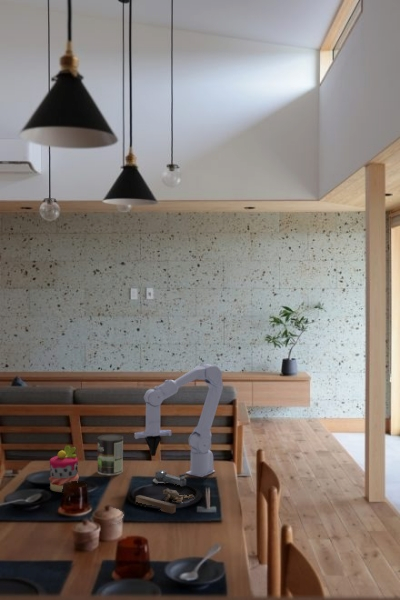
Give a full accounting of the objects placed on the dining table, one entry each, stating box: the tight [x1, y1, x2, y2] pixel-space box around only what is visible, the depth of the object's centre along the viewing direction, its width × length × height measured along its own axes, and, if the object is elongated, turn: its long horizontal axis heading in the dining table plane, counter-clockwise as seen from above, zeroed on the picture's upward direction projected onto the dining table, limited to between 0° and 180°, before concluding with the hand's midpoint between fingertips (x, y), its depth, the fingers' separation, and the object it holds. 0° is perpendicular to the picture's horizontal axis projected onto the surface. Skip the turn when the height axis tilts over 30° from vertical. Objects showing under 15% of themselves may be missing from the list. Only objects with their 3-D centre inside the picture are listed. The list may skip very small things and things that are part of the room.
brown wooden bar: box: [135, 494, 177, 515], centre depth 226 cm, size 2×16×2 cm, turn 54°
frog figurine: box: [162, 487, 195, 503], centre depth 234 cm, size 12×12×4 cm
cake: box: [48, 445, 80, 493], centre depth 246 cm, size 10×10×15 cm
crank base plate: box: [152, 478, 169, 484], centre depth 255 cm, size 6×6×1 cm
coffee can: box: [97, 433, 124, 477], centre depth 266 cm, size 10×10×14 cm
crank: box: [154, 469, 187, 487], centre depth 252 cm, size 14×4×4 cm, turn 49°
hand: (152, 455), depth 257 cm, fingers closed
